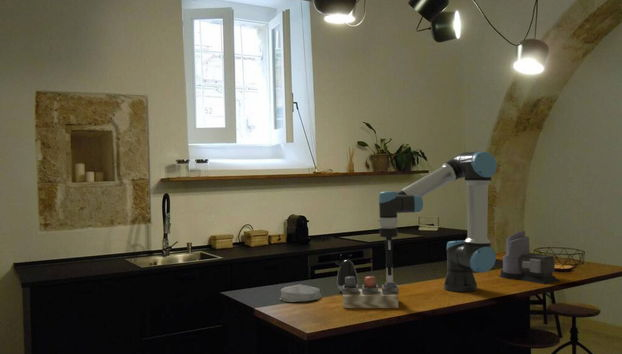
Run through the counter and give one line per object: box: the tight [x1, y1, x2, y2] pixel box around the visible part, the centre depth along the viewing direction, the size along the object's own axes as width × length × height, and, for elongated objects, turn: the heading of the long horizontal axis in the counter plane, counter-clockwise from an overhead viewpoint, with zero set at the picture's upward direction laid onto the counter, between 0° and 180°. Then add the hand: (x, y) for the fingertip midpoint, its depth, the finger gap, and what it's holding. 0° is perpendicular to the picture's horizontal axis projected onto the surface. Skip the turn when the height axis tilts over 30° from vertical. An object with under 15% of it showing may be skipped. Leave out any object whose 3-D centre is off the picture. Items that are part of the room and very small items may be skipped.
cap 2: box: [384, 281, 396, 288], centre depth 234 cm, size 4×4×4 cm
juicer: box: [498, 230, 560, 285], centre depth 281 cm, size 30×16×24 cm, turn 33°
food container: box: [279, 283, 323, 303], centre depth 250 cm, size 20×20×7 cm
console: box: [341, 284, 400, 309], centre depth 235 cm, size 24×14×8 cm, turn 84°
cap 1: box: [345, 276, 355, 288], centre depth 236 cm, size 4×4×4 cm
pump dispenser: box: [335, 259, 359, 292], centre depth 261 cm, size 10×10×15 cm
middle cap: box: [364, 275, 376, 288], centre depth 235 cm, size 4×4×4 cm
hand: (389, 282), depth 234 cm, fingers closed
